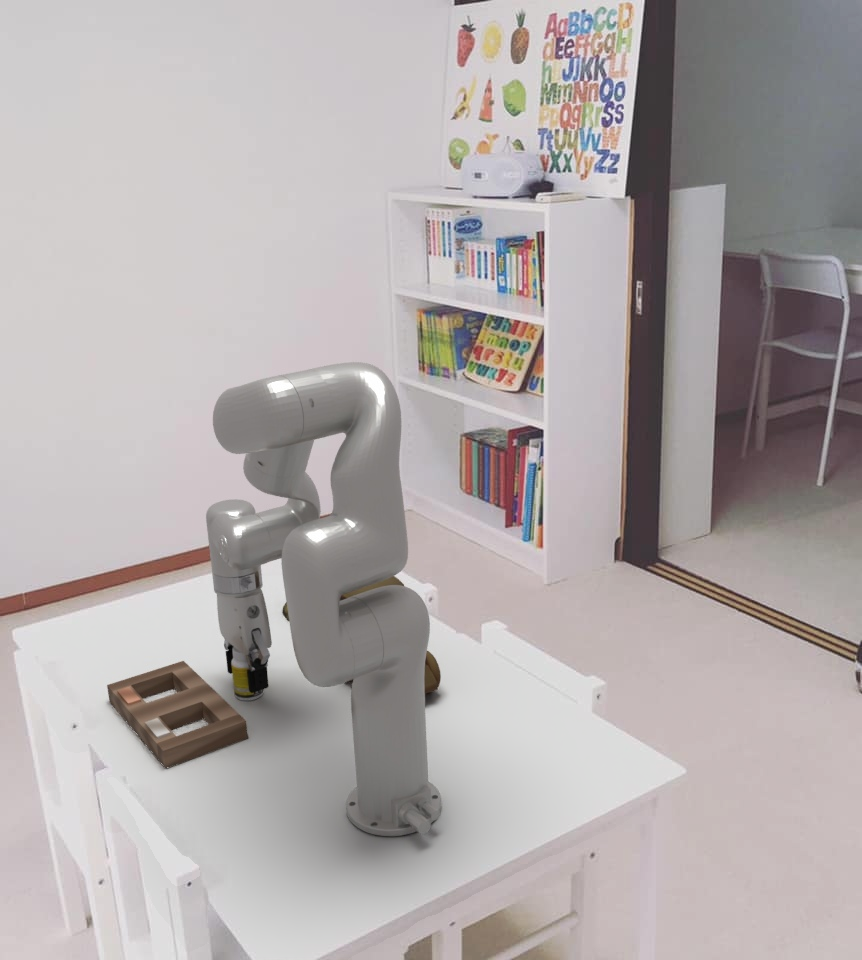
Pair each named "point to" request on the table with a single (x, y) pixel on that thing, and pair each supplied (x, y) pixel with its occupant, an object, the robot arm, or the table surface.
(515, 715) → the table surface
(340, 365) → the robot arm
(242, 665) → the supplement bottle
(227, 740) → the socket block
